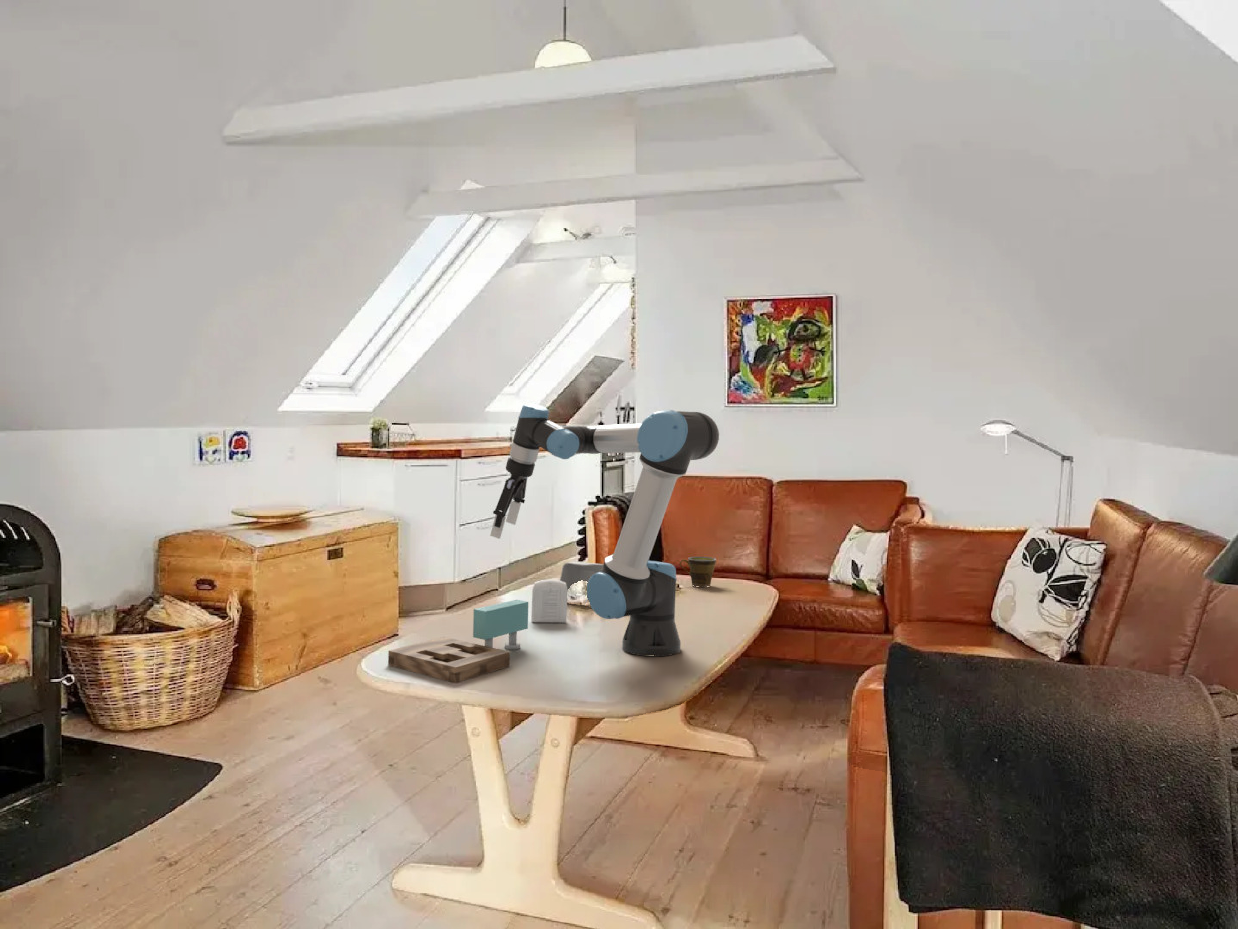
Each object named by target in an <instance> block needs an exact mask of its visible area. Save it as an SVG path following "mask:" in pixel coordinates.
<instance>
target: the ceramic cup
mask: <svg viewBox="0 0 1238 929" xmlns="http://www.w3.org/2000/svg"><path fill="white" fill-rule="evenodd" d="M682 562H685V563H686V564H687V565H688V567H689V571H688V570H687V568H686V567H684V566H683V565H682ZM716 563H717V559H716V558H714V557H708V556H691V557H688V560H687V559H681V561H680V562H679V565H680V567H681V568H682V569H684V571H685V572H686V573H687V574H688V575H689V576H690V579H691V585H694V586H699V587H707V586H710V587H711V584H712V578H713V575H714V574H713V573H714V571H715V566H716ZM694 586H693V587H694ZM699 587H698V588H699ZM707 588H708V587H707Z"/></svg>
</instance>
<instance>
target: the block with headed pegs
mask: <svg viewBox="0 0 1238 929" xmlns="http://www.w3.org/2000/svg"><path fill="white" fill-rule="evenodd" d="M472 625H473V627H472V630H473V631H472V638H474V639H479V640H484V646H487V647H491V648H494V646H493V644H494V638H496V637H501V636H505V635H508V642H506V643H504V649H505V650H508V651H514V650H515V651H516V650H520V649H521V642H520V643H519V642H517V638H518V636H517V635H518V633H517V632H520V631H524V630H527V629H528V628H529V601H526V600H520V599H515V600H514V599H513V600H509V601H505V602H500V603H495V604H491V605H487V606H482V607H476V608H473V624H472Z"/></svg>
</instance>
